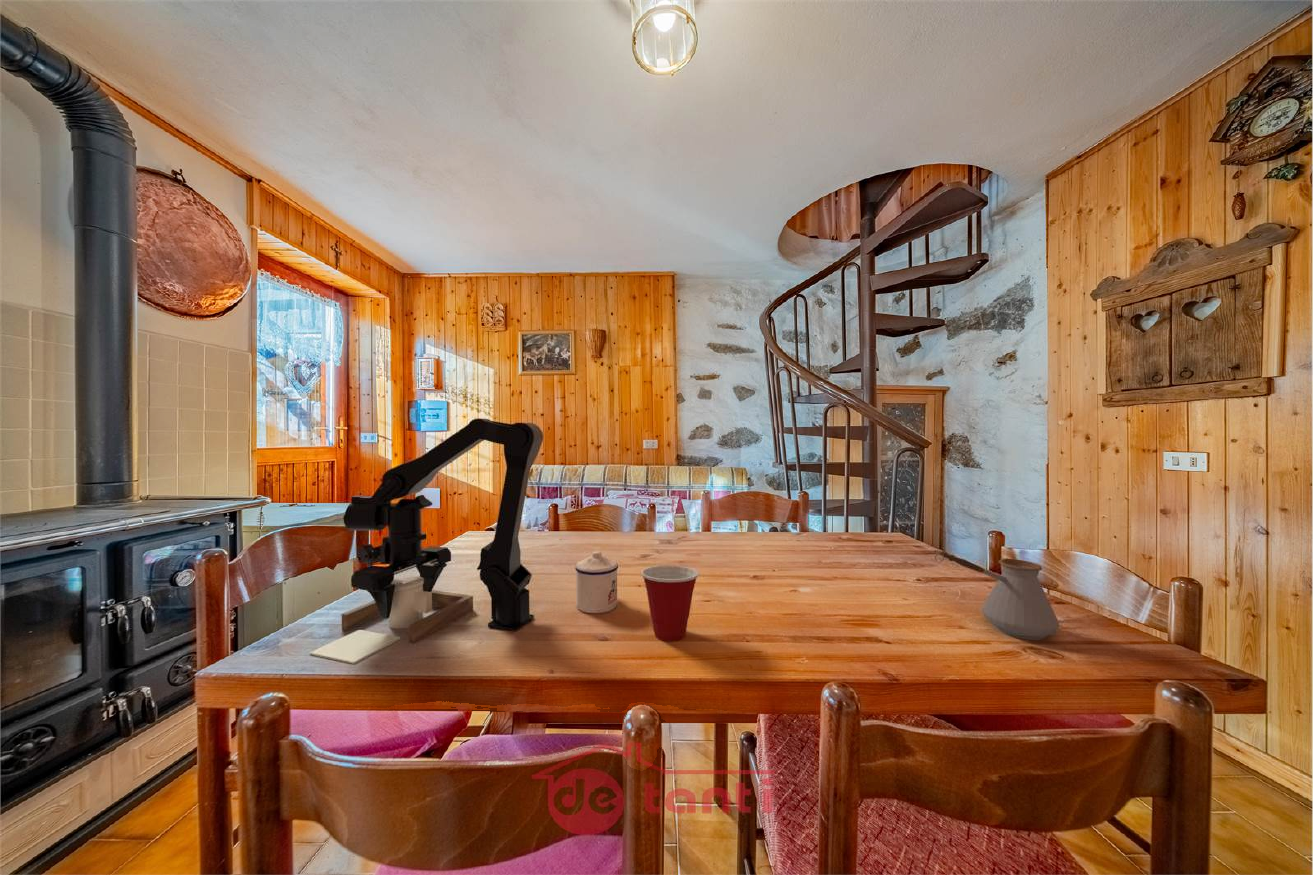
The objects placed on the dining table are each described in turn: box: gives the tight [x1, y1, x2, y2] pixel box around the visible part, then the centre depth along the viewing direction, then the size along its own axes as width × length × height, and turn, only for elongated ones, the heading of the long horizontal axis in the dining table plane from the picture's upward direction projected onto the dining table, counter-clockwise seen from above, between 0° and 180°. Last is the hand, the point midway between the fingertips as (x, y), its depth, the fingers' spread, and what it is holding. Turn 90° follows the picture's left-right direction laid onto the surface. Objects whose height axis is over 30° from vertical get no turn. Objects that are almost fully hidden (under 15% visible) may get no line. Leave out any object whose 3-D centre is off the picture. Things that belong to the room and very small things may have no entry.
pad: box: [309, 629, 402, 665], centre depth 79 cm, size 10×9×1 cm
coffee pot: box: [934, 551, 1060, 641], centre depth 86 cm, size 21×12×15 cm, turn 89°
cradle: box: [341, 589, 474, 644], centre depth 90 cm, size 17×15×3 cm
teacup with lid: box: [575, 550, 619, 614], centre depth 99 cm, size 12×9×12 cm
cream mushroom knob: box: [388, 575, 433, 630], centre depth 89 cm, size 9×6×8 cm
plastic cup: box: [640, 565, 700, 642], centre depth 84 cm, size 11×11×12 cm
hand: (406, 608), depth 89 cm, fingers open, 9 cm apart
